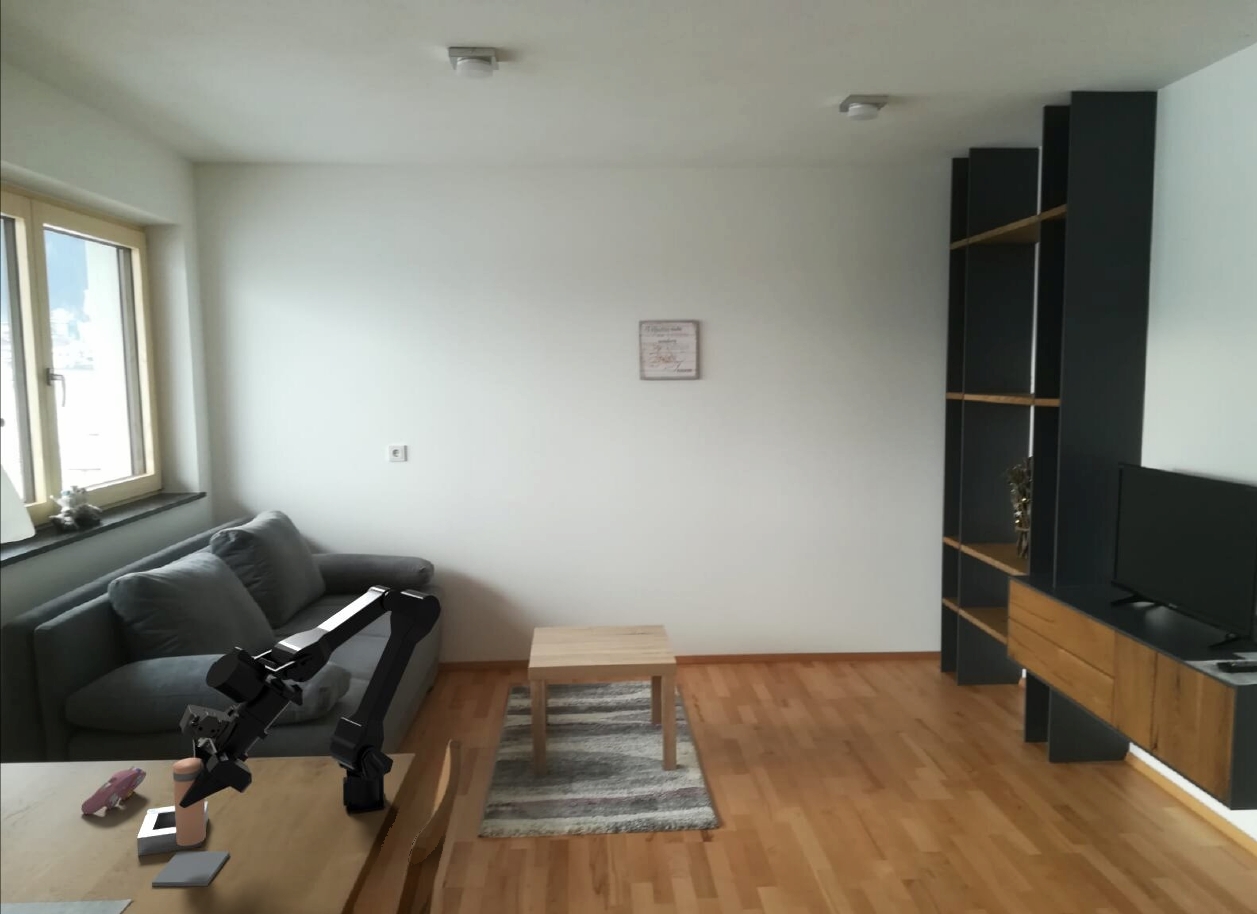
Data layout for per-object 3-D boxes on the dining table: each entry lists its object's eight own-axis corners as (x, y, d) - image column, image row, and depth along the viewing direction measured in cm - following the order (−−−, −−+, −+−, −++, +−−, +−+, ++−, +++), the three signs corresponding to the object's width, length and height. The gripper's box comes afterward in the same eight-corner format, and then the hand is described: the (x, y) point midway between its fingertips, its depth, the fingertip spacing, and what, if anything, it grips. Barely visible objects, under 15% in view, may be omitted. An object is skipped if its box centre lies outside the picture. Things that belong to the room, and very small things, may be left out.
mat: (177, 854, 136) (177, 851, 136) (229, 854, 136) (229, 851, 136) (151, 885, 128) (151, 882, 128) (206, 885, 128) (206, 882, 128)
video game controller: (97, 826, 146) (112, 793, 145) (76, 812, 147) (90, 779, 145) (141, 798, 156) (155, 767, 155) (121, 784, 156) (134, 753, 155)
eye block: (208, 818, 147) (207, 801, 146) (201, 846, 138) (200, 828, 138) (148, 826, 144) (148, 809, 143) (137, 856, 135) (137, 838, 135)
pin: (207, 829, 134) (204, 756, 133) (204, 843, 130) (200, 768, 129) (178, 833, 133) (175, 759, 131) (174, 847, 129) (170, 772, 128)
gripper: (204, 667, 139) (128, 749, 134) (224, 707, 123) (140, 801, 118) (258, 704, 144) (187, 784, 139) (284, 747, 129) (205, 838, 124)
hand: (179, 800), depth 130 cm, fingers closed on pin, 4 cm apart
